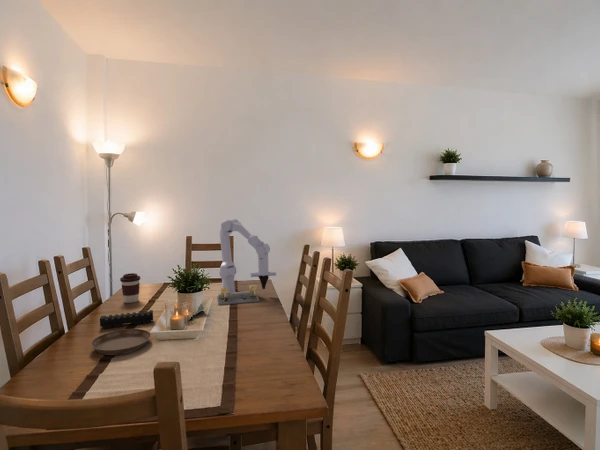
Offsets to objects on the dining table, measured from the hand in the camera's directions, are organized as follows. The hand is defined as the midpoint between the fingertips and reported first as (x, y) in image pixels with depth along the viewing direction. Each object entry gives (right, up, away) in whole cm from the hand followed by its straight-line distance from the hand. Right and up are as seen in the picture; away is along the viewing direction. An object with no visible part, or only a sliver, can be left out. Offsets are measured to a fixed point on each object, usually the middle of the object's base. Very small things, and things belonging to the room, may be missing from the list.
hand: (263, 288), depth 203 cm
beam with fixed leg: (-14, -4, -5) cm, 15 cm away
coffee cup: (-72, -6, -8) cm, 73 cm away
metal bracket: (-33, -8, -30) cm, 45 cm away
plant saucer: (-48, -11, -66) cm, 82 cm away
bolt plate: (-14, -5, -6) cm, 16 cm away
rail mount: (-57, -9, -43) cm, 72 cm away
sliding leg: (-5, -3, -3) cm, 7 cm away
